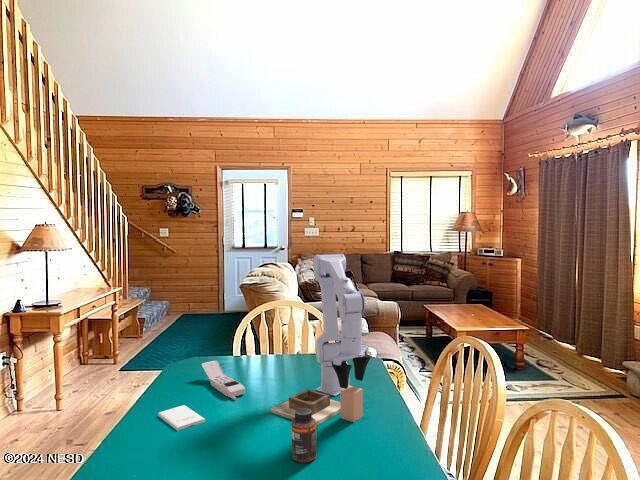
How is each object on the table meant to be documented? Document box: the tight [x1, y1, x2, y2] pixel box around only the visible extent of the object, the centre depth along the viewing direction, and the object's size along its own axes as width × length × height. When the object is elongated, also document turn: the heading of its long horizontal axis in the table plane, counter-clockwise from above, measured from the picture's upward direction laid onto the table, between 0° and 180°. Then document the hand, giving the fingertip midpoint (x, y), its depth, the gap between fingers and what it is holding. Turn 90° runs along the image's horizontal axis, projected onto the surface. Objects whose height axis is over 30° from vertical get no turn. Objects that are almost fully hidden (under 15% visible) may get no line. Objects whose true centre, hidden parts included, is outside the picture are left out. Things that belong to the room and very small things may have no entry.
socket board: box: [270, 388, 341, 427], centre depth 141 cm, size 16×16×4 cm
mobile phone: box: [201, 359, 246, 401], centre depth 160 cm, size 6×6×25 cm
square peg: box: [339, 385, 364, 423], centre depth 136 cm, size 4×4×8 cm
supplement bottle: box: [290, 408, 318, 463], centre depth 114 cm, size 6×6×11 cm
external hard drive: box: [157, 404, 206, 432], centre depth 136 cm, size 2×8×12 cm
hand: (351, 383), depth 136 cm, fingers open, 7 cm apart
